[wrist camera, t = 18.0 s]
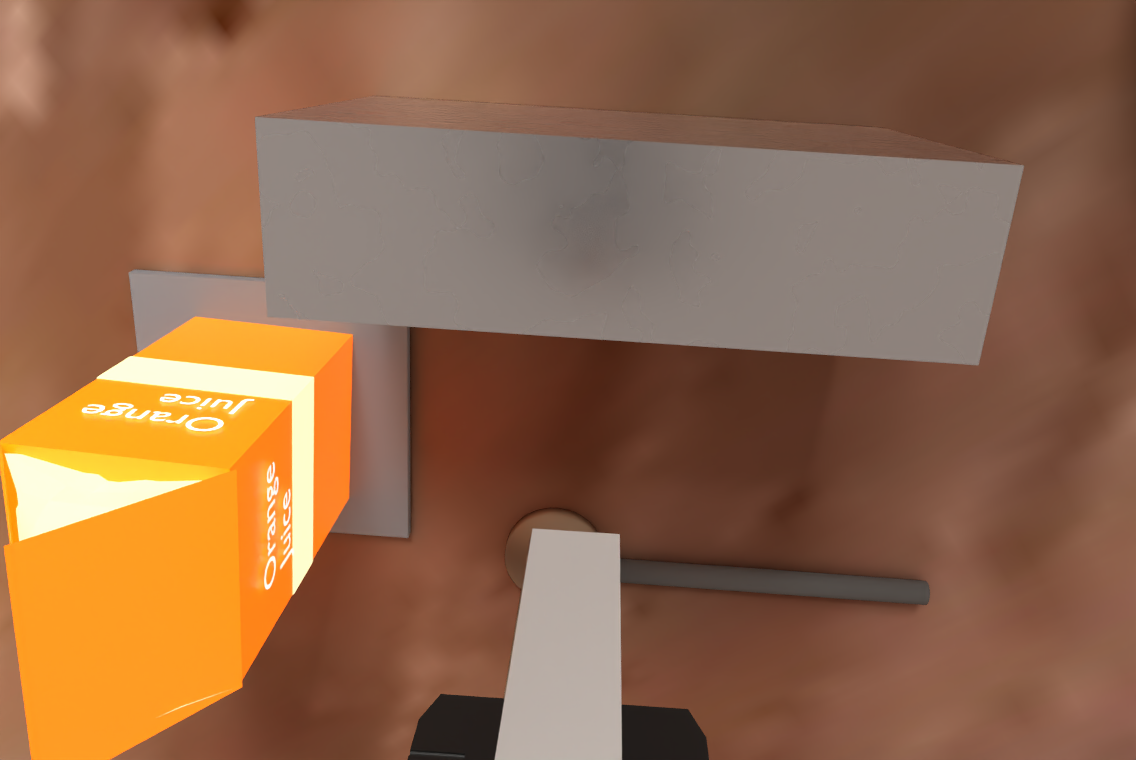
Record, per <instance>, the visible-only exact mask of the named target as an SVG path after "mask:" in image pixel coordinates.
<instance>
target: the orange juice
mask: <svg viewBox="0 0 1136 760" xmlns="http://www.w3.org/2000/svg"><path fill="white" fill-rule="evenodd" d="M352 344H353V335H352V334H343V333H335V332H326V331H317V330H308V329H299V328H291V327H282V326H273V325H264V324H255V323H246V322H238V321H229V320H220V319H211V318H202V317H194V318H192V319H191V320H189V321H188V322H186V323H185V324H183V325H181V326H180V327H178V328H177V329H175V330H174V331H172V332H170V333H169V334H167V335H166V336H164V337H163V338H161V339H159V340H158V341H156V342H155V343H153V344H151V345H150V346H148V347H147V348H145V349H144V350H142V351H140V352H139V353H137V354H136V355H134V356H130V357H128V358H127V359H125V360H124V361H122V362H120V363H119V364H117V365H116V366H114V367H112V368H111V369H109V370H108V371H106V372H105V373H103V374H101V375H100V376H98V377H97V379H96V380H95V381H93V382H92V383H90V384H88V385H87V386H85V387H84V388H82V389H80V390H79V391H77V392H76V393H74V394H73V395H71V396H69V397H68V398H66V399H65V400H63V401H62V402H60V403H58V404H57V405H55V406H54V407H52V408H51V409H49V410H47V411H46V412H44V413H43V414H41V415H39V416H38V417H36V418H35V419H33V420H32V421H30V422H28V423H27V424H25V425H24V426H22V427H21V428H19V429H17V430H16V431H14V432H13V433H11V434H10V435H8V436H6V437H5V438H3V439H2V440H0V470H1V478H2V485H3V493H4V501H5V509H6V517H7V525H8V532H9V540H10V544H9V545H6V546H4V552H5V560H6V567H7V575H8V583H9V590H10V598H11V606H12V613H13V621H14V629H15V636H16V644H17V652H18V659H19V667H20V675H21V682H22V690H23V698H24V705H25V713H26V721H27V728H28V736H29V744H30V751H31V759H32V760H109V759H111V758H113V757H115V756H117V755H118V754H120V753H122V752H124V751H126V750H128V749H130V748H131V747H133V746H135V745H137V744H139V743H141V742H142V741H144V740H146V739H148V738H150V737H152V736H153V735H155V734H157V733H159V732H161V731H163V730H164V729H166V728H168V727H170V726H172V725H174V724H175V723H177V722H179V721H181V720H183V719H185V718H186V717H188V716H190V715H192V714H194V713H196V712H197V711H199V710H201V709H203V708H205V707H207V706H208V705H210V704H212V703H214V702H216V701H218V700H219V699H221V698H223V697H225V696H227V695H229V694H230V693H232V692H234V691H236V690H238V689H240V688H241V687H242V680H243V678H244V676H245V675H246V673H247V671H248V669H249V668H250V666H251V664H252V663H253V661H254V659H255V657H256V656H257V654H258V652H259V651H260V649H261V647H262V646H263V644H264V642H265V640H266V639H267V637H268V635H269V634H270V632H271V630H272V628H273V627H274V625H275V623H276V622H277V620H278V618H279V617H280V615H281V613H282V611H283V610H284V608H285V606H286V605H287V603H288V601H289V599H290V598H291V596H292V595H294V593H295V592H296V590H297V588H298V587H299V585H300V583H301V581H302V580H303V578H304V576H305V575H306V573H307V571H308V569H309V568H310V566H311V564H312V563H313V559H314V557H315V555H316V553H317V552H318V550H319V548H320V547H321V545H322V543H323V541H324V540H325V538H326V536H327V535H328V533H329V531H330V530H331V528H332V526H333V524H334V523H335V521H336V519H337V518H338V516H339V514H340V512H341V511H342V509H343V507H344V506H345V504H346V502H347V501H348V499H349V478H350V433H351V389H352Z"/></svg>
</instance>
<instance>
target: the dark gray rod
mask: <svg viewBox="0 0 1136 760" xmlns="http://www.w3.org/2000/svg"><path fill="white" fill-rule="evenodd" d="M620 582H621V583H635V584H648V585H662V586H675V587H689V588H703V589H716V590H730V591H743V592H757V593H771V594H784V595H798V596H812V597H825V598H839V599H852V600H866V601H880V602H893V603H907V604H920V605H927V604H928V602H929V598H930V589H929V585H928V583H927V581H922V580H908V579H895V578H881V577H867V576H853V575H840V574H826V573H812V572H799V571H785V570H771V569H757V568H744V567H730V566H716V565H703V564H689V563H675V562H661V561H648V560H634V559H620Z"/></svg>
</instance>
